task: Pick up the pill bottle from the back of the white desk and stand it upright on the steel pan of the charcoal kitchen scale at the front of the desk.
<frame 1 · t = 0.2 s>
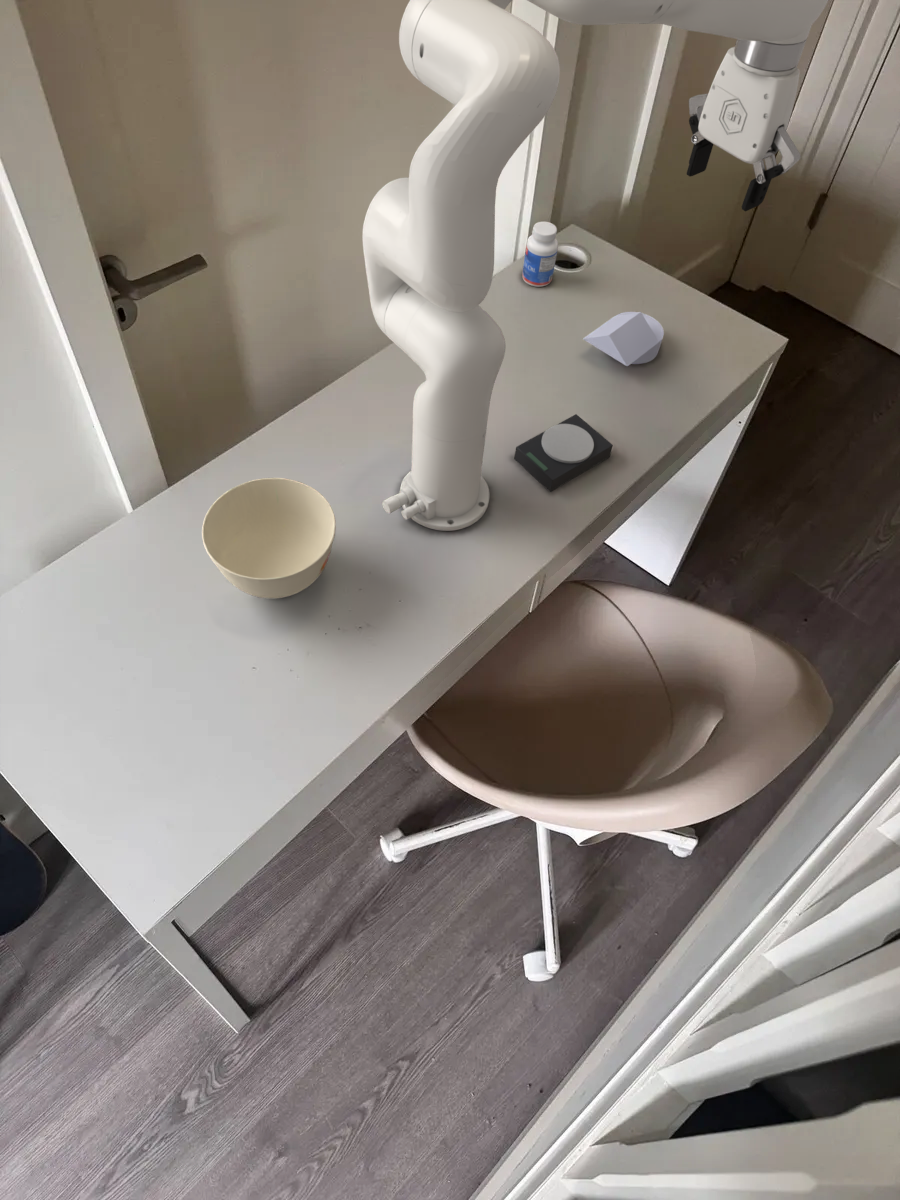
hand: (722, 189, 114), 31 cm above the table, tool pointing down, fingers open, 9 cm apart
pill bottle: (536, 279, 152), on the table
wedge on round base: (624, 352, 142), on the table
scale: (562, 458, 127), on the table
bowl: (278, 576, 112), on the table
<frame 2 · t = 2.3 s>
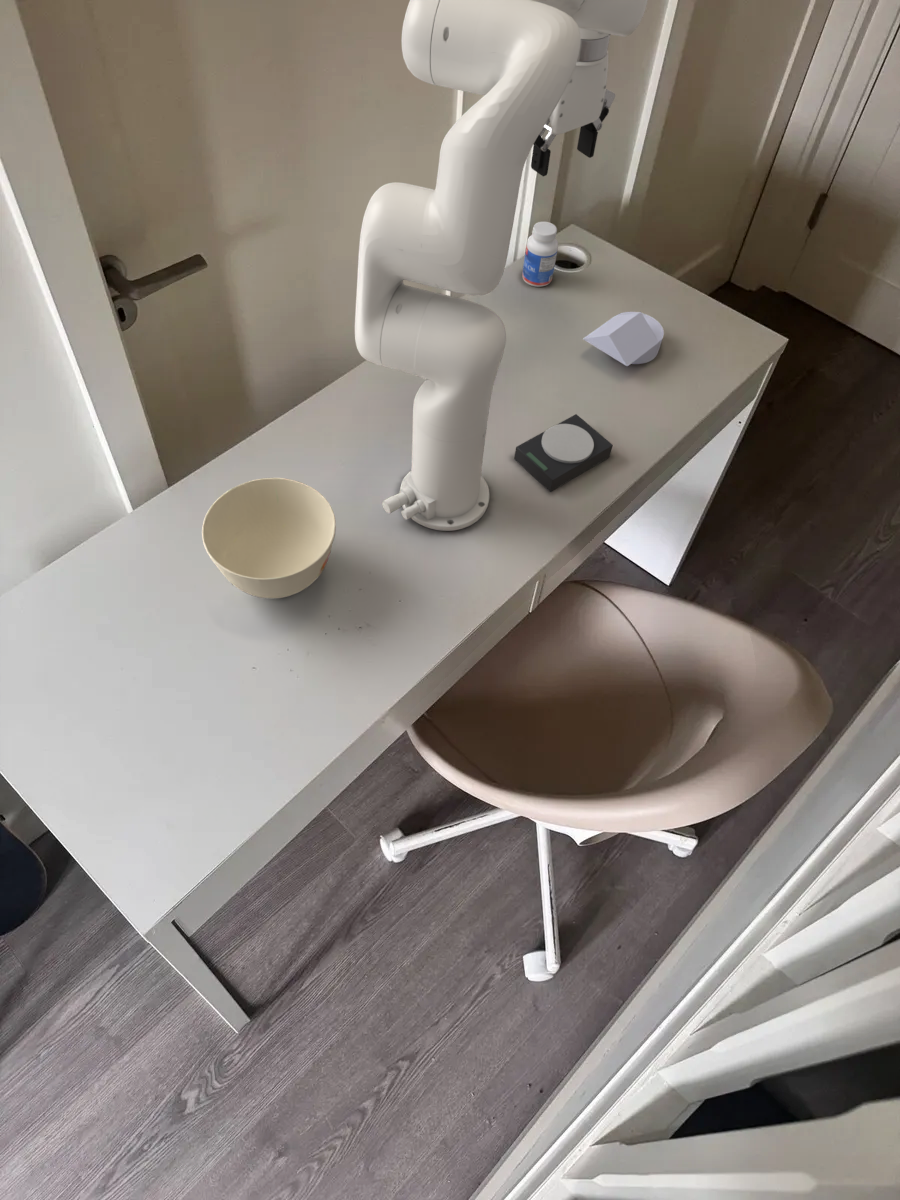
hand: (562, 162, 134), 21 cm above the table, tool pointing down, fingers open, 9 cm apart
nothing on the table moved.
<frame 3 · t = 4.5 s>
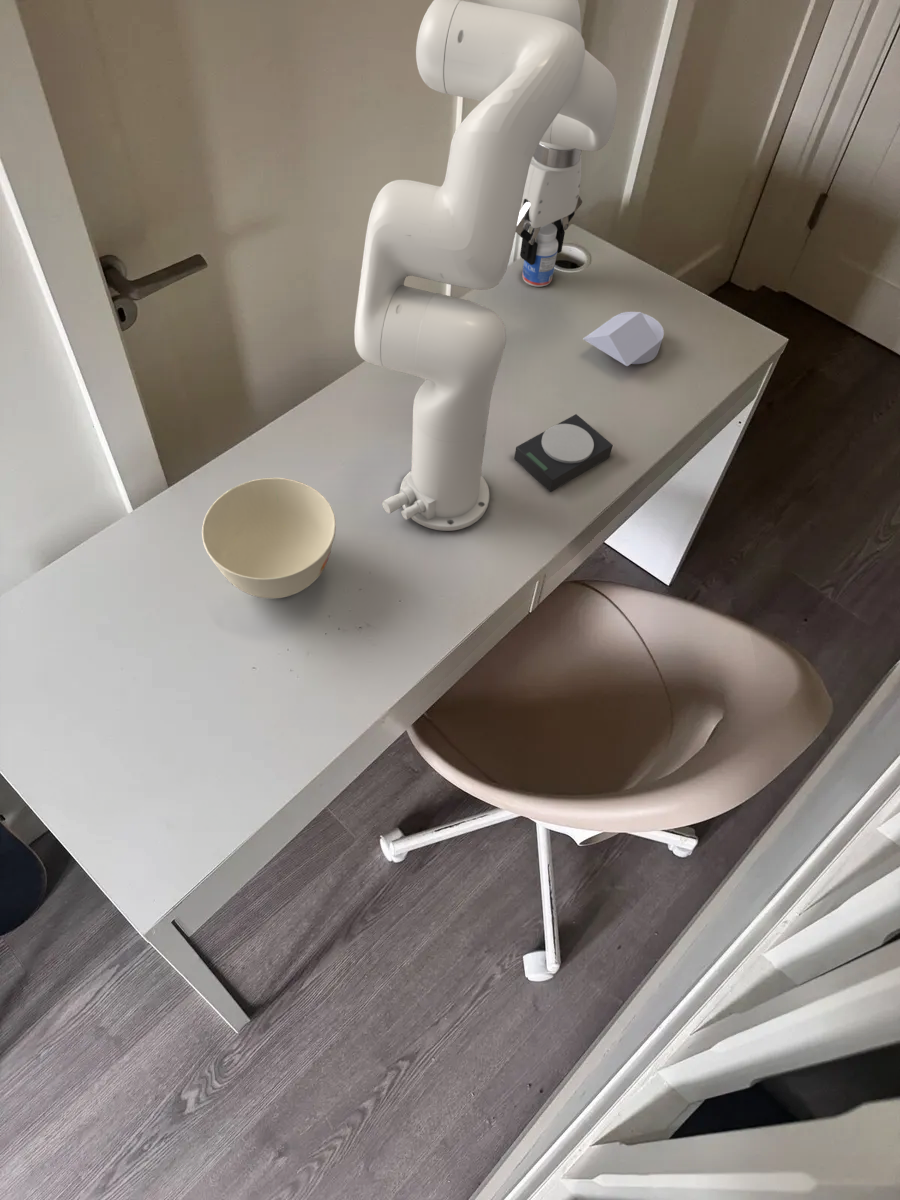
hand: (540, 253, 148), 5 cm above the table, tool pointing down, fingers closed on pill bottle, 5 cm apart
pill bottle: (536, 279, 152), on the table, touching gripper
everything else where it was.
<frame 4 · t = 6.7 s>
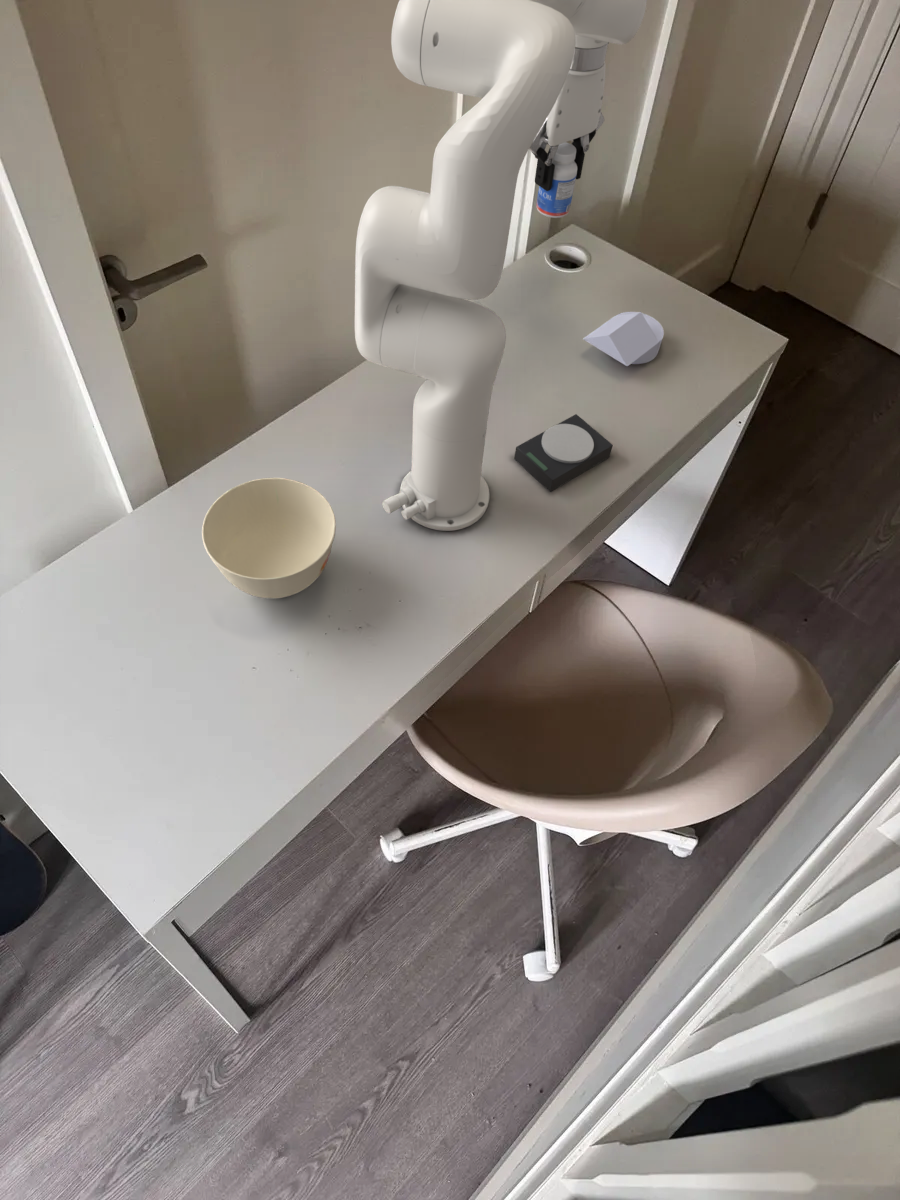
hand: (557, 179, 132), 21 cm above the table, tool pointing down, fingers closed on pill bottle, 5 cm apart
pill bottle: (552, 210, 137), point 16 cm above the table, touching gripper
everything else where it was.
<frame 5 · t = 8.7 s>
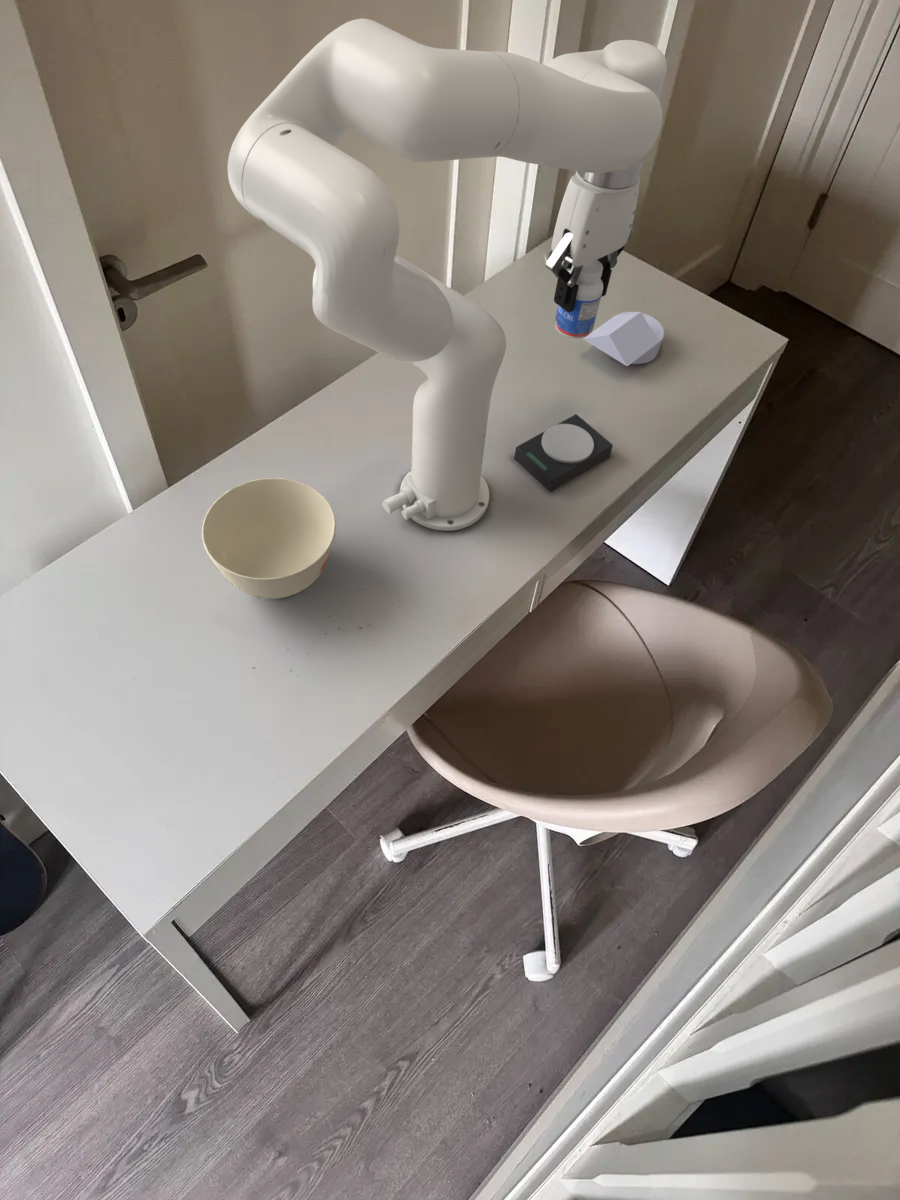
hand: (579, 297, 115), 21 cm above the table, tool pointing down, fingers closed on pill bottle, 5 cm apart
pill bottle: (572, 329, 119), point 16 cm above the table, touching gripper
everything else where it was.
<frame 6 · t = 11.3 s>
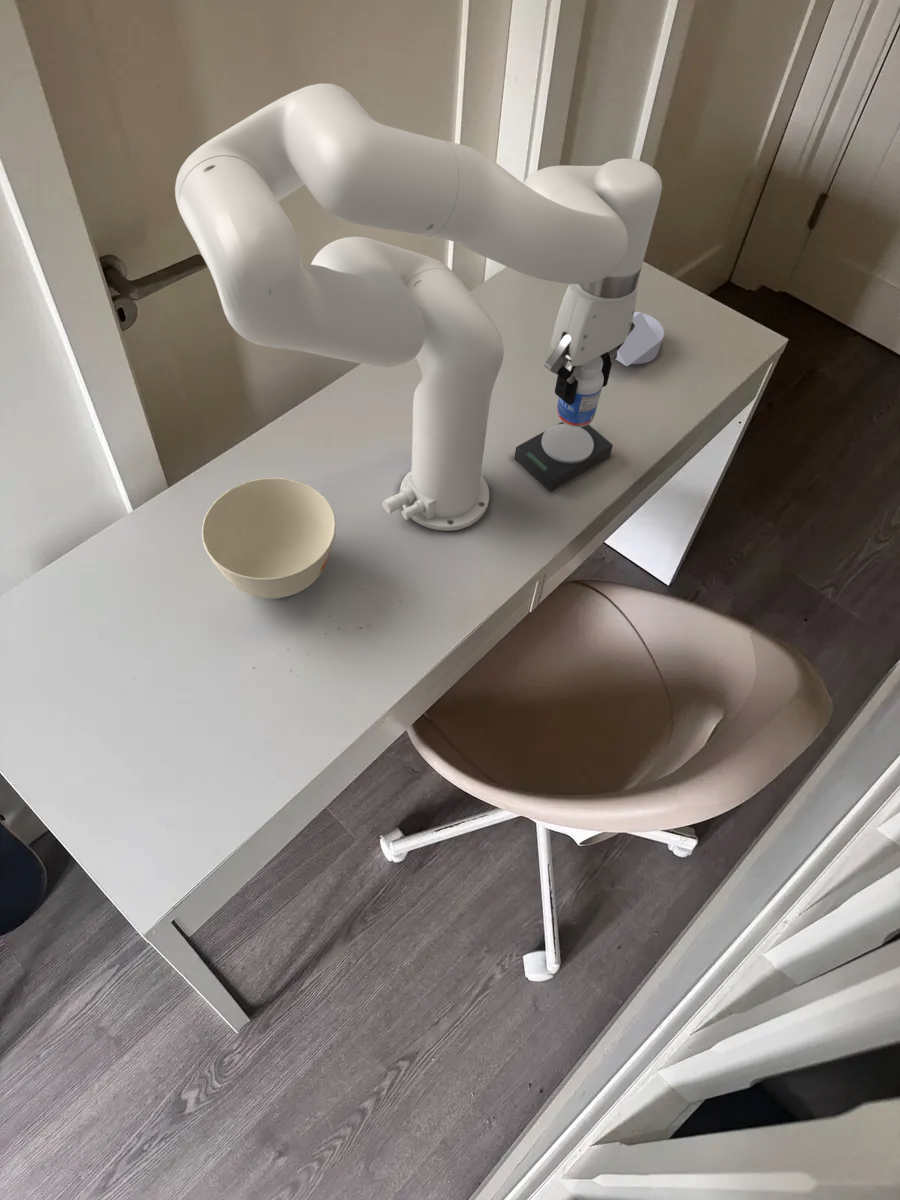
hand: (580, 388, 117), 13 cm above the table, tool pointing down, fingers closed on pill bottle, 5 cm apart
pill bottle: (574, 416, 121), point 8 cm above the table, touching gripper
everything else where it was.
when the fingers open (8 cm above the table, at t = 13.0 s): pill bottle stays where it is, resting on scale.
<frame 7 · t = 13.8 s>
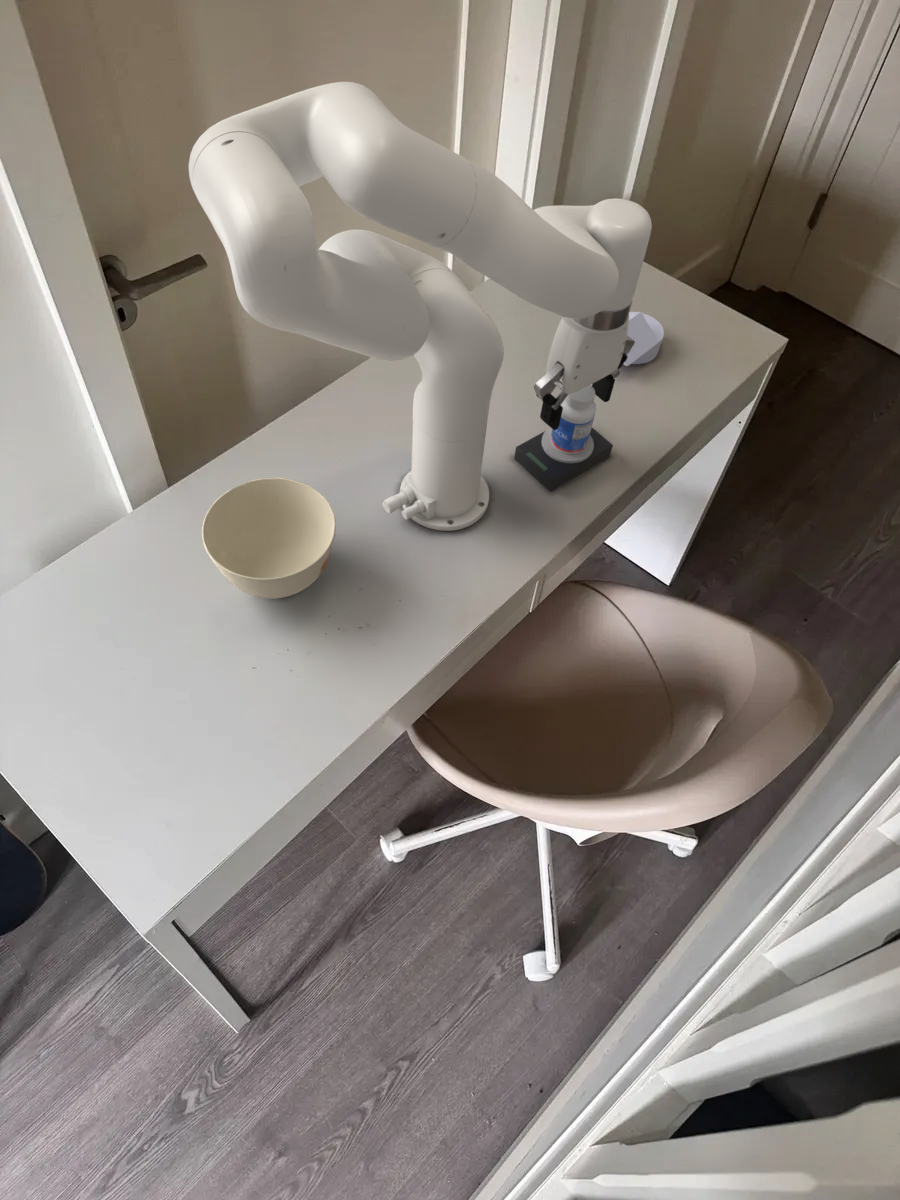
hand: (574, 409, 120), 9 cm above the table, tool pointing down, fingers open, 9 cm apart
pill bottle: (568, 443, 125), point 3 cm above the table, touching scale
everything else where it was.
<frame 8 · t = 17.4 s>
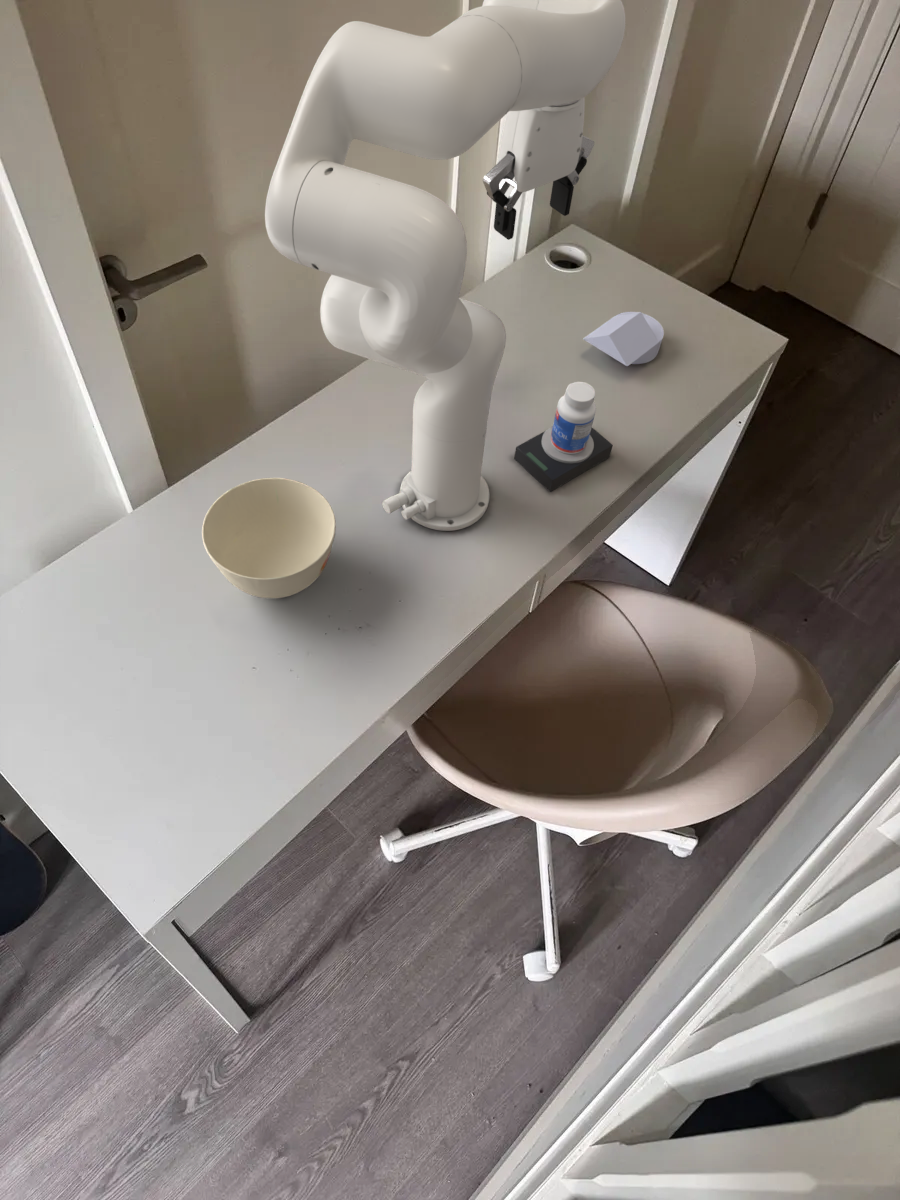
hand: (531, 222, 112), 28 cm above the table, tool pointing down, fingers open, 9 cm apart
nothing on the table moved.
at the end: pill bottle 0.1 cm off-centre on the scale, point 2.8 cm above the scale's base; pill bottle tilted 0°; the gripper is holding nothing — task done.
